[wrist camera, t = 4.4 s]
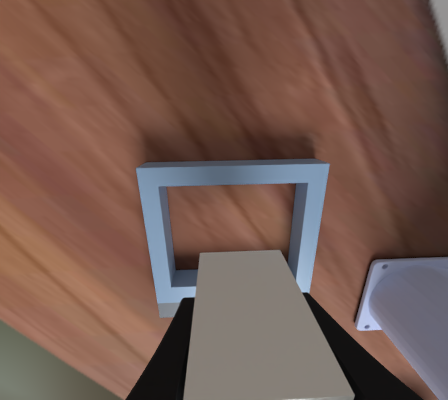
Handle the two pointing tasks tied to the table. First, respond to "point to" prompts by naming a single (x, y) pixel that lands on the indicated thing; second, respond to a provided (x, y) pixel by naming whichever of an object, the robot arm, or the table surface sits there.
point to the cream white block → (257, 334)
